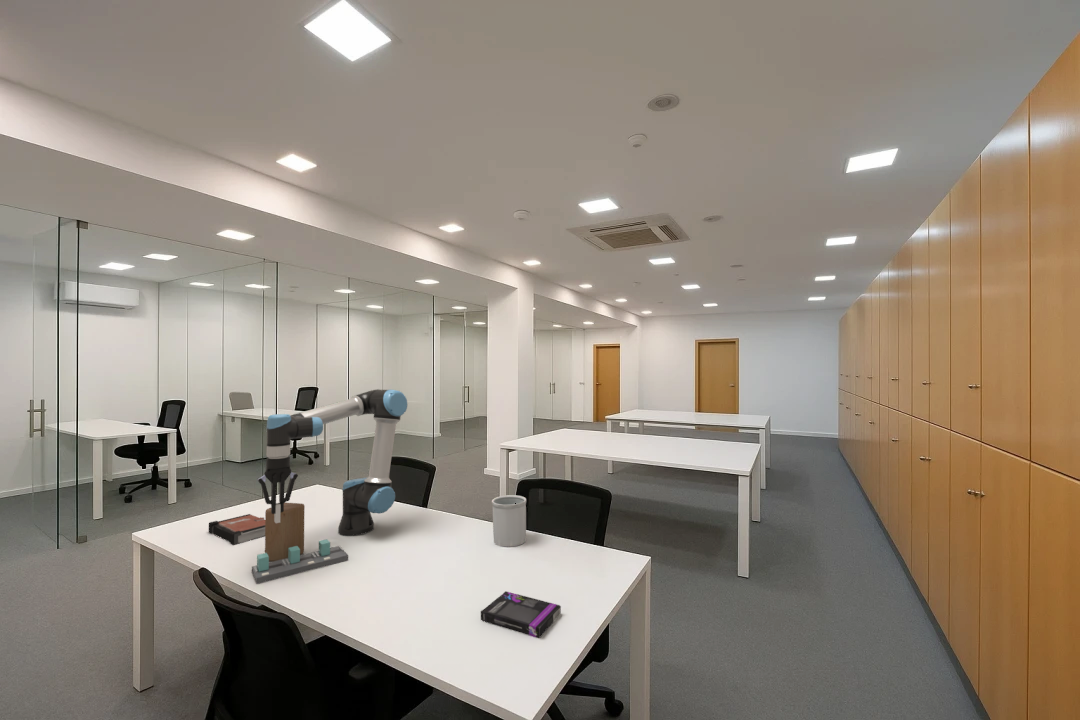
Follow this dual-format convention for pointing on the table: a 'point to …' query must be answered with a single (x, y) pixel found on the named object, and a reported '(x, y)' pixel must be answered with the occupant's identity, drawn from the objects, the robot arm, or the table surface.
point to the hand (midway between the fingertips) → (277, 521)
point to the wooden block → (284, 531)
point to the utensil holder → (509, 520)
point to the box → (521, 614)
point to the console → (299, 565)
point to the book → (239, 528)
